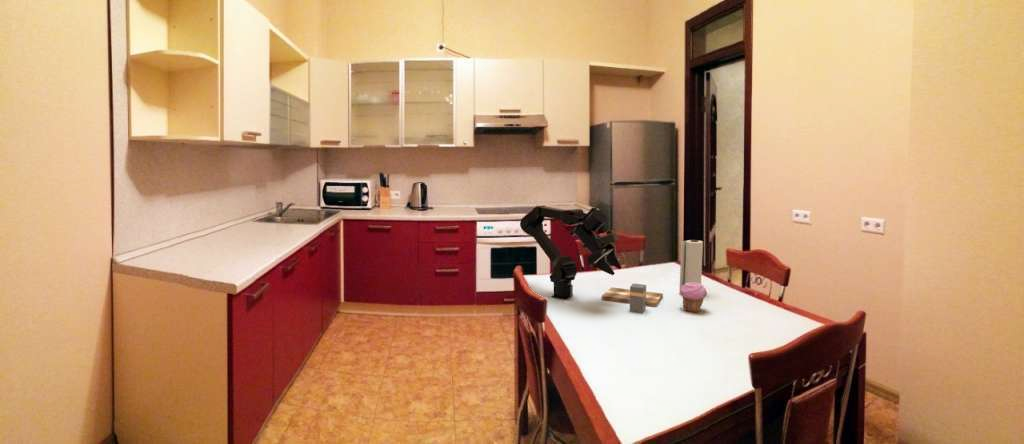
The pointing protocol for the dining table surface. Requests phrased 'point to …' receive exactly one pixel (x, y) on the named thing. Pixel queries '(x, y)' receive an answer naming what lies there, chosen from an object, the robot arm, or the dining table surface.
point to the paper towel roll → (691, 262)
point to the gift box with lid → (637, 298)
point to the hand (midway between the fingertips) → (617, 271)
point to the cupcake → (693, 295)
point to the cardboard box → (624, 296)
